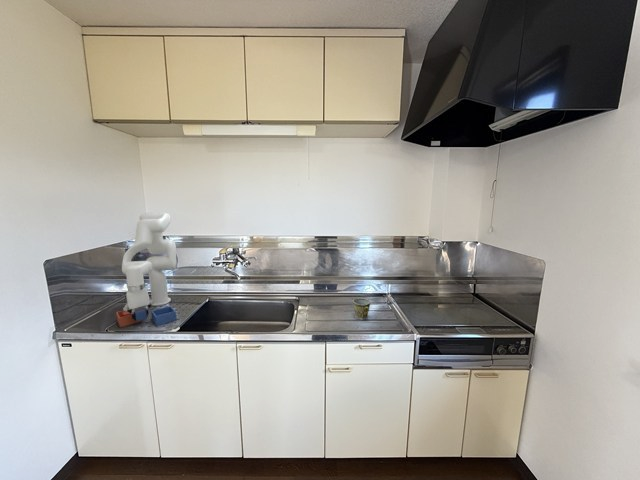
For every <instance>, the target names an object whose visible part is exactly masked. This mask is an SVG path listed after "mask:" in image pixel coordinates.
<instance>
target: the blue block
mask: <svg viewBox="0 0 640 480" xmlns="http://www.w3.org/2000/svg"><path fill="white" fill-rule="evenodd" d="M134 312H135V316H136V321H140V320H142V321H143V320H146V319H148V317H147V314H146V309H145V306H142V307H139V308H138V309H135V311H134Z"/></svg>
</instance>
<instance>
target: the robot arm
mask: <svg viewBox="0 0 640 480" xmlns="http://www.w3.org/2000/svg"><path fill="white" fill-rule="evenodd" d="M171 218H172V217H171V215H170V214H169V213H168V212H143V213H141V214H140V215H139V221H137V223H136V228H135V229H136V230H135V237H134V243H133V244H132V245H131V246H130V247H129V248H128V249H127V250H126V251H125V253H124V254H123V257H122V262H121V272H122V274H124V275H125V277H126V283H127V290H126V294H125V295H126V303H125V305H124V307H123V308H122V311H123V310H124V311H127V312H129V313H131V314H132V319H134V320H136V316H135V312H134V311H135V308H138V309H139V308H143V307H144V308H145V309H146V314H147V318H148V317H149V315H150V312H149V310H150V308H151V307H158V306H159V307H160V306H164V305H167V304H169V303H170V302H171V301H172V298H171V297H169V292H168V283H167V276H166V274H165V273H164V272H165V271H173V270H175V269H176V268H177V244H176V242H175V240H174V239H170V238H169V239H168V238H167V239H166V238H165V239H164V235H163V233H164V232H165V231H166V230H167V229H168V227H169V226H170V224H171V220H172V219H171ZM146 249H147V250H148V253H149V254H151V255H157V256H150V257H148V258H146V259H145V260H135V261H132V260H133V257H134V256H135V255H136V254H138V253H140V252H142V251H144V250H146ZM145 275H148V279H149V283H148V282H145V280H144V279H145V278H144V276H145ZM148 284H149V288H150V289H149V290H150V296H151V297H150V296H149V290H148V288H147V287H146V286H148ZM130 309H131V310H130Z"/></svg>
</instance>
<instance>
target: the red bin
mask: <svg viewBox="0 0 640 480" xmlns="http://www.w3.org/2000/svg"><path fill="white" fill-rule="evenodd" d="M135 309H139V308H135ZM130 310H131V309H130ZM122 312H125V311H124V310H123V309H122V310H119V311H115V315H116V321H117V323H118V326H119V328H123V327H128V326H130V325H134V324H138V323H141V322H142V321H143V320H140V321H136V320H134V319H132V314H131V315H127V316H123V313H122Z"/></svg>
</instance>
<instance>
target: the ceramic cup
mask: <svg viewBox="0 0 640 480" xmlns="http://www.w3.org/2000/svg"><path fill="white" fill-rule="evenodd" d="M352 304H353V311H354V317H355V318H356V319H357V320H360V321H364V320H366V319H367V318H368V314H369V312H370V306H371V300H370V299H367V298H364V297H358V298H354V299H353V300H352Z"/></svg>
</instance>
